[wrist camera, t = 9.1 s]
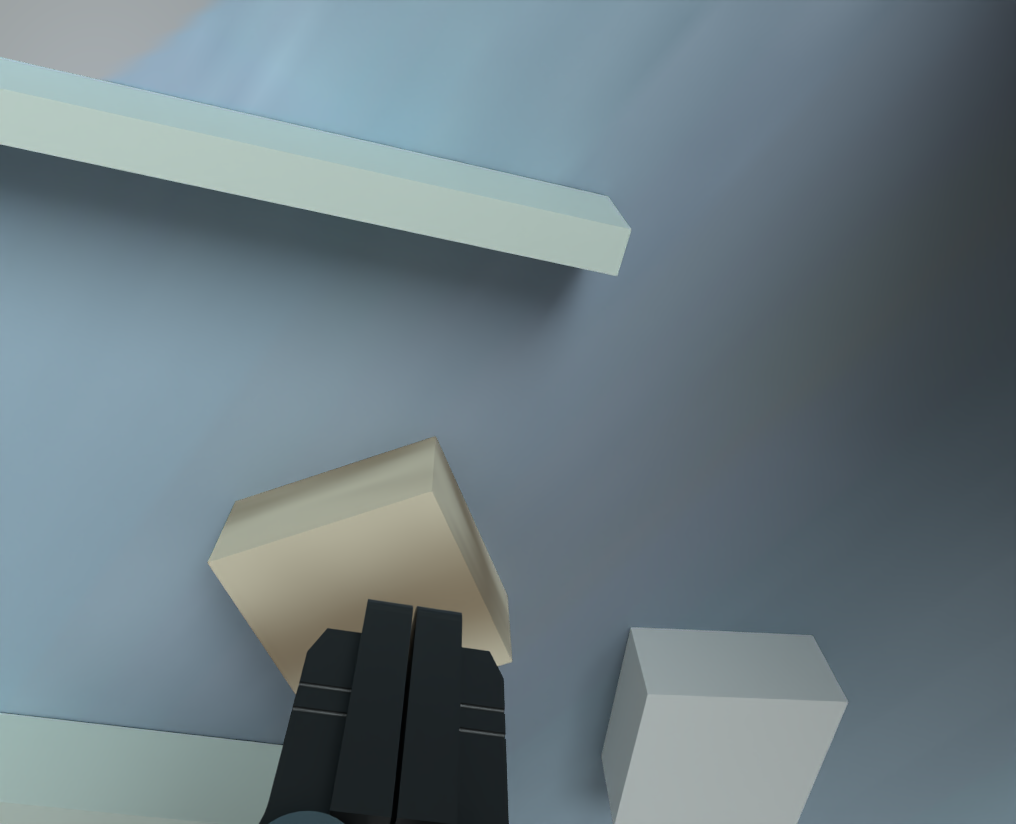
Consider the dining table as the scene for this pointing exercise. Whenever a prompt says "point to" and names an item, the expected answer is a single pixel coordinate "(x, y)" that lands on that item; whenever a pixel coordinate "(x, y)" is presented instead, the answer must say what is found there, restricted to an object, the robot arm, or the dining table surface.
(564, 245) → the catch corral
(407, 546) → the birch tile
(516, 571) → the dining table surface
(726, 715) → the pale grey tile
